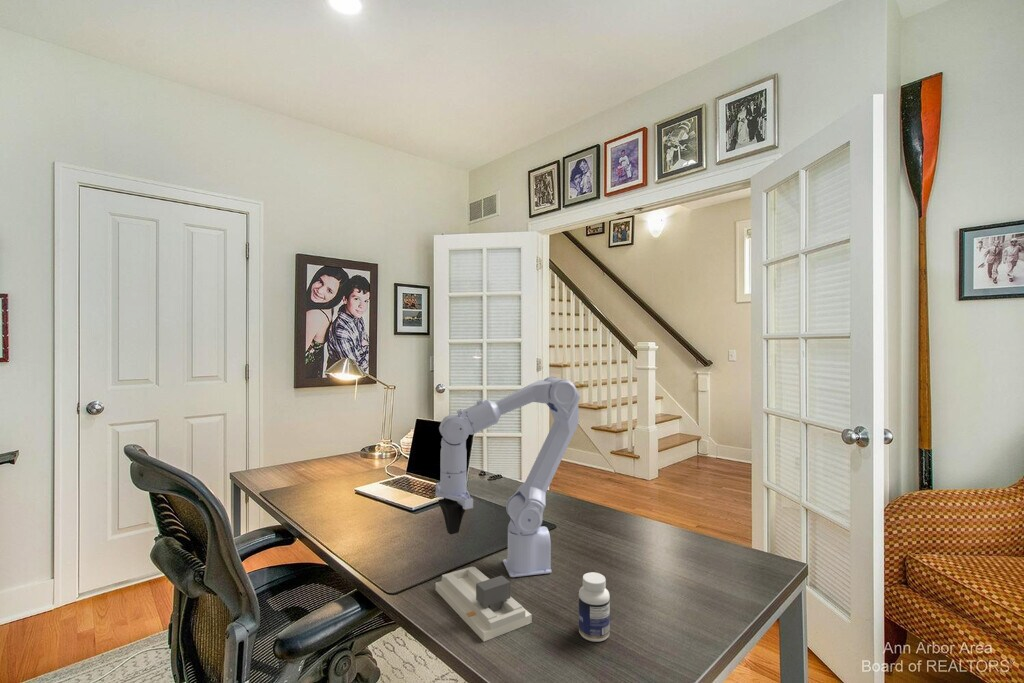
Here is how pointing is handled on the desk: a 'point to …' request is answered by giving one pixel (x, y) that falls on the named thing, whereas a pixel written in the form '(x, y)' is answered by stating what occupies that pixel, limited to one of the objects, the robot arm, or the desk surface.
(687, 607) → the desk surface
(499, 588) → the fader tab
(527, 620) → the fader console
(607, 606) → the pill bottle
